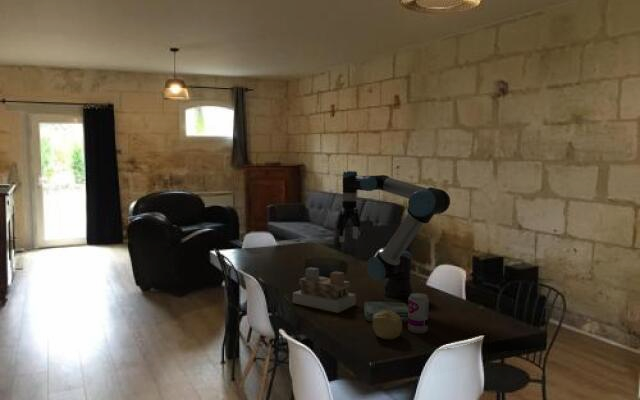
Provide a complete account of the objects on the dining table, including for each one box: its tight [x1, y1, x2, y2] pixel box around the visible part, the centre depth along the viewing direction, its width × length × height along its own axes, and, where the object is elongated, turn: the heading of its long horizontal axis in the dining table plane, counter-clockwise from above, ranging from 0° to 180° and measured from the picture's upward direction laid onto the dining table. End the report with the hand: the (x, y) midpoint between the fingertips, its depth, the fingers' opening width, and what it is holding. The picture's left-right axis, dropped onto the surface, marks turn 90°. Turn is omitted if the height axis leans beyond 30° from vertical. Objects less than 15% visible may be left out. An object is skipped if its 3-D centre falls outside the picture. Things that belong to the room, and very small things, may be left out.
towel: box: [363, 301, 408, 323], centre depth 233 cm, size 18×21×5 cm
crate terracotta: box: [329, 270, 345, 285], centre depth 244 cm, size 5×5×5 cm
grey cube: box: [304, 266, 320, 280], centre depth 252 cm, size 5×5×5 cm
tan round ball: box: [372, 310, 403, 340], centre depth 206 cm, size 12×12×11 cm
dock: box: [292, 289, 357, 314], centre depth 249 cm, size 26×16×5 cm, turn 56°
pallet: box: [298, 275, 351, 300], centre depth 248 cm, size 22×11×6 cm, turn 56°
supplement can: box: [407, 292, 430, 334], centre depth 213 cm, size 8×8×15 cm
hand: (348, 240), depth 273 cm, fingers open, 13 cm apart
